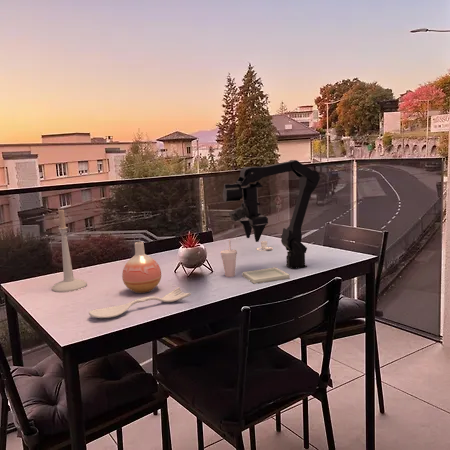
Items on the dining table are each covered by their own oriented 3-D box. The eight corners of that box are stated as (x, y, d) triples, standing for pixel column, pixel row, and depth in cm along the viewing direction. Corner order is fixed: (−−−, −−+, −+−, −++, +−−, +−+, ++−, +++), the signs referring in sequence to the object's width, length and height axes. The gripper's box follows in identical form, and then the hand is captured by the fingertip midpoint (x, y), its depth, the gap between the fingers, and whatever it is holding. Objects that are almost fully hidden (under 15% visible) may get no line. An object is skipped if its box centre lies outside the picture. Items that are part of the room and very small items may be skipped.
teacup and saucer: (273, 251, 218) (273, 243, 217) (256, 252, 218) (256, 244, 218) (272, 247, 227) (271, 239, 226) (255, 248, 227) (255, 240, 226)
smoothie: (236, 278, 175) (234, 241, 173) (220, 277, 177) (218, 241, 174) (239, 273, 181) (237, 238, 179) (223, 273, 183) (221, 238, 181)
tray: (275, 271, 182) (275, 267, 181) (289, 278, 170) (289, 274, 170) (242, 276, 177) (242, 272, 177) (254, 284, 166) (254, 279, 166)
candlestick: (49, 286, 178) (39, 209, 174) (82, 280, 185) (74, 205, 180) (55, 294, 167) (45, 212, 163) (91, 287, 174) (82, 208, 169)
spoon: (192, 302, 151) (191, 291, 151) (94, 325, 135) (93, 314, 134) (180, 295, 159) (179, 285, 158) (86, 317, 142) (85, 306, 142)
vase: (117, 291, 167) (112, 243, 165) (151, 282, 175) (147, 237, 172) (134, 299, 156) (129, 248, 154) (169, 290, 164) (165, 241, 161)
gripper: (222, 199, 184) (225, 238, 186) (239, 204, 166) (241, 246, 169) (249, 197, 187) (251, 235, 190) (267, 201, 170) (269, 243, 172)
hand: (252, 239), depth 180 cm, fingers open, 9 cm apart
